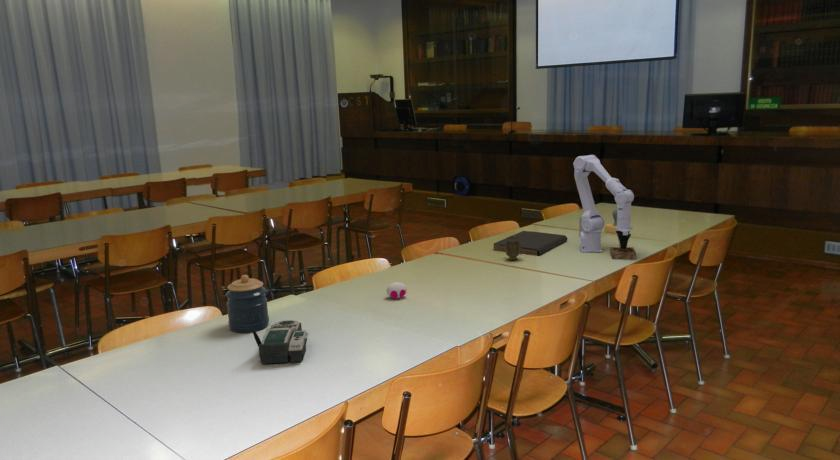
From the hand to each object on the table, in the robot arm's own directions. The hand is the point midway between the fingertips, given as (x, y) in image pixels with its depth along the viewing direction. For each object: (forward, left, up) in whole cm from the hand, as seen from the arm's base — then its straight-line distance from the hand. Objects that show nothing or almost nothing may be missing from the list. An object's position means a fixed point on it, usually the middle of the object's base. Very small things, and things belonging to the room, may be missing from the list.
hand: (622, 247), depth 277 cm
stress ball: (-88, -66, -4) cm, 110 cm away
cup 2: (-12, +39, -4) cm, 41 cm away
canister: (-131, -99, -4) cm, 164 cm away
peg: (0, 0, -3) cm, 3 cm away
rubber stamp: (+3, +51, -4) cm, 51 cm away
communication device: (-112, -114, -4) cm, 160 cm away
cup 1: (-48, -8, -4) cm, 49 cm away
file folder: (-40, +19, -5) cm, 45 cm away
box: (0, 0, -4) cm, 4 cm away
